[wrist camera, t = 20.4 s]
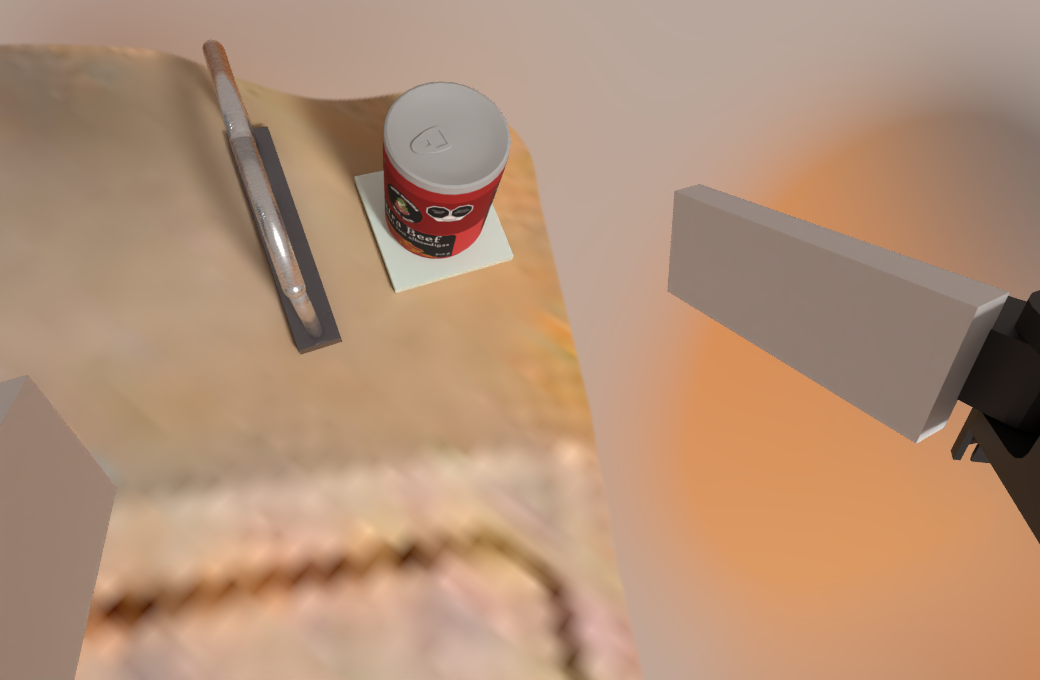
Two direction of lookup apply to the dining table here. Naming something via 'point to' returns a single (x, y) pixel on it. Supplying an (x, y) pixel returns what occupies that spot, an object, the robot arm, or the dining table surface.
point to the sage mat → (419, 270)
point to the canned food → (442, 166)
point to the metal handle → (273, 213)
